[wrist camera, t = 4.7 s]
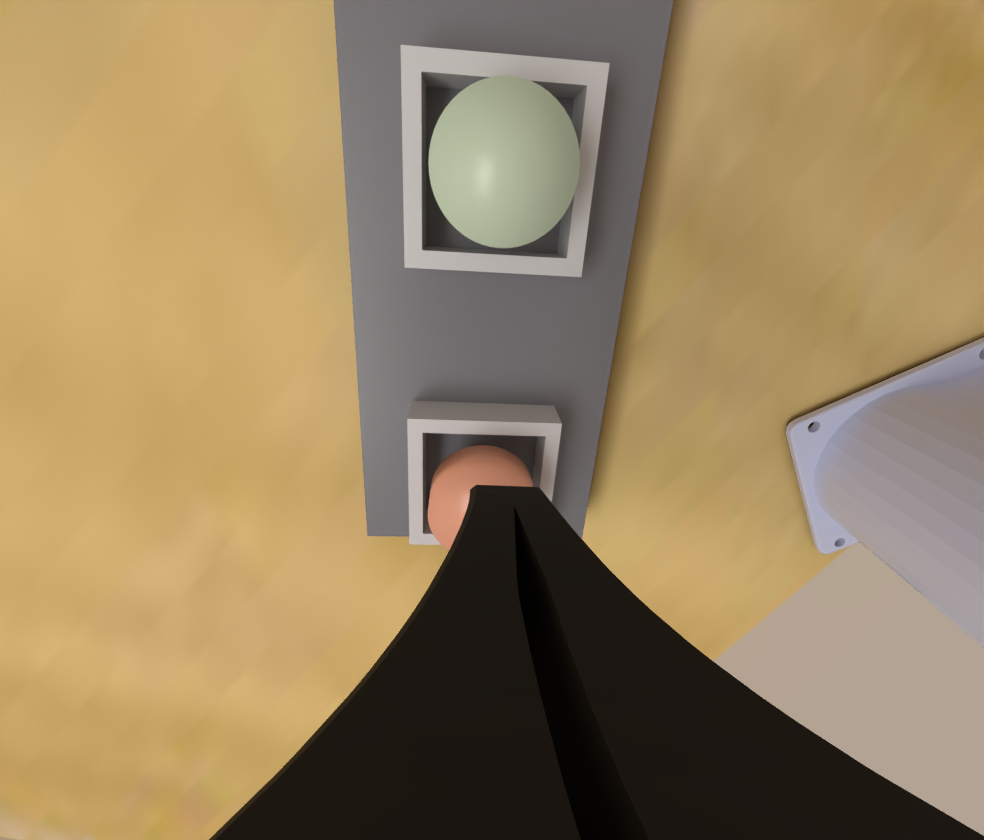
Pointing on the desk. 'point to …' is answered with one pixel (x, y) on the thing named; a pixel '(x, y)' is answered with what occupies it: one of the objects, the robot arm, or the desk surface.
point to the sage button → (504, 161)
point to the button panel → (482, 269)
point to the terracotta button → (469, 485)
